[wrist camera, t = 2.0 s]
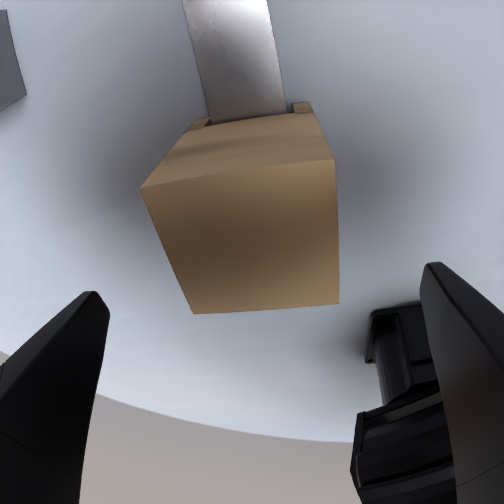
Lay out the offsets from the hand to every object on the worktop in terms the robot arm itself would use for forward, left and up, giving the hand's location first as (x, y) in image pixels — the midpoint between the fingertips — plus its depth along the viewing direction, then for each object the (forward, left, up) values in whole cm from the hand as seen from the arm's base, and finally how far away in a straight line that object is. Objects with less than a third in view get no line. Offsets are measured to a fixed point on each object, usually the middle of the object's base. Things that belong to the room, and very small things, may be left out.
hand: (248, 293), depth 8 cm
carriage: (0, 0, -9) cm, 9 cm away
